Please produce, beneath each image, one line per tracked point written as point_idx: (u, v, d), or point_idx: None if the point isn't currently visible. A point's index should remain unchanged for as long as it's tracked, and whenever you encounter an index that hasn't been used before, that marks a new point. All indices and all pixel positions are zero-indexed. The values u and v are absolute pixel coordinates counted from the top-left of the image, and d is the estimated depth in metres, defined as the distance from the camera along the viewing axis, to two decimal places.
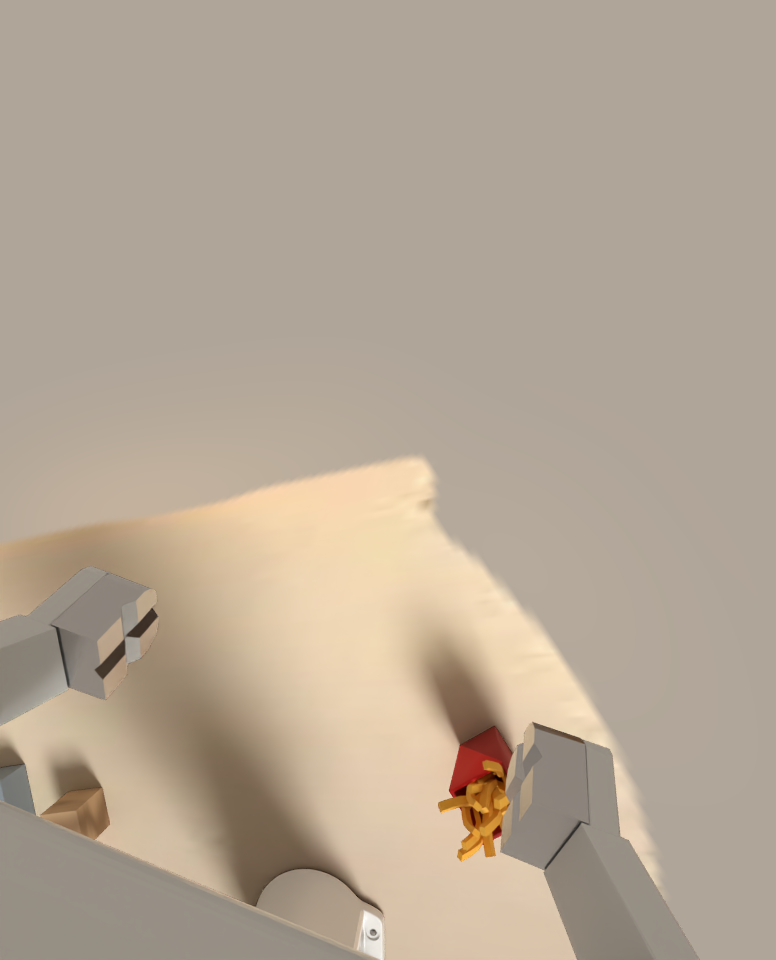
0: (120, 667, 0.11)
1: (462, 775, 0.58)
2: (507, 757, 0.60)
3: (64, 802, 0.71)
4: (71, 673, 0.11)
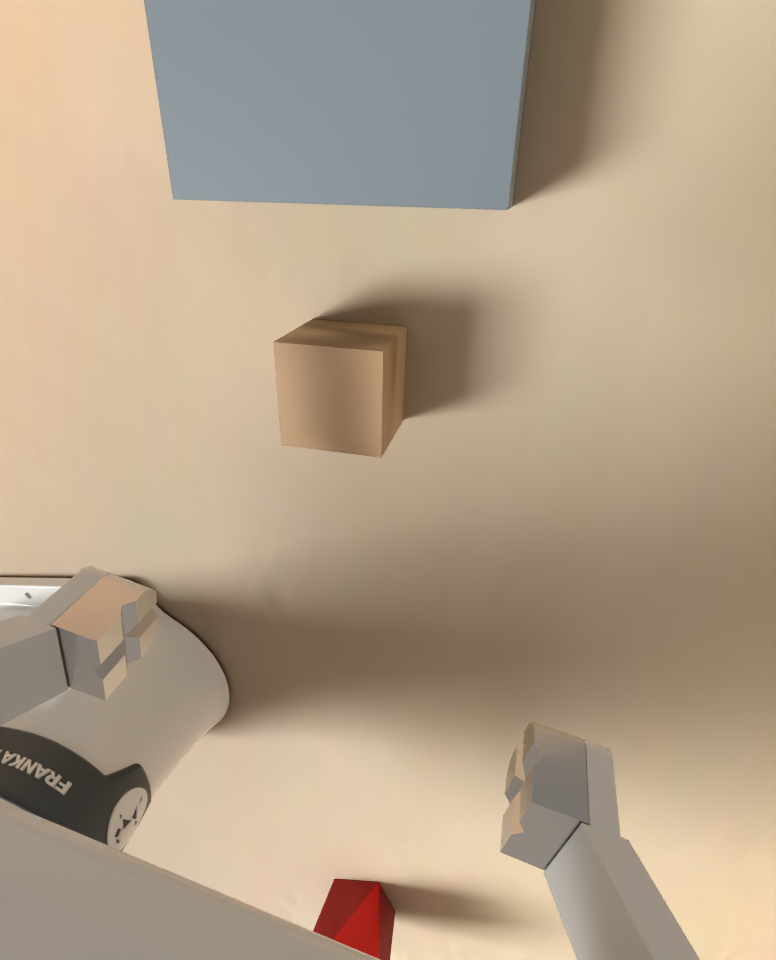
0: (120, 667, 0.11)
1: None
2: None
3: (394, 371, 0.26)
4: (71, 673, 0.11)
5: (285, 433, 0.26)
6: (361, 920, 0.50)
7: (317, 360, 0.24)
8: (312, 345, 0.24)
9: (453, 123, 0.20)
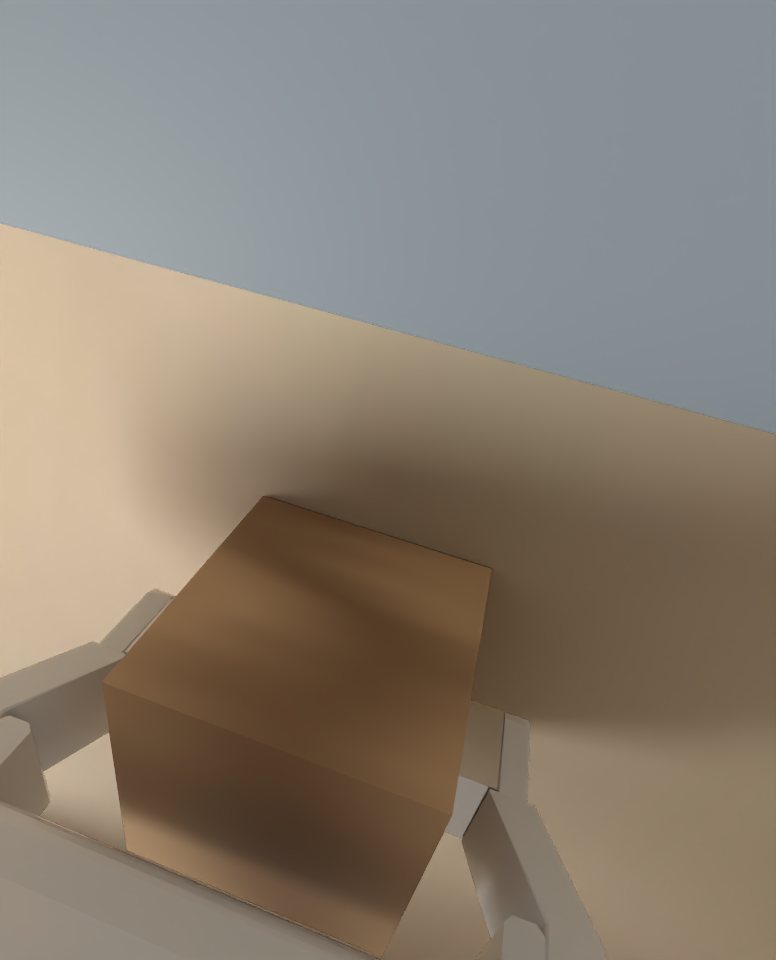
0: None
1: None
2: None
3: None
4: None
5: (137, 839, 0.10)
6: None
7: (234, 758, 0.08)
8: (223, 724, 0.07)
9: None
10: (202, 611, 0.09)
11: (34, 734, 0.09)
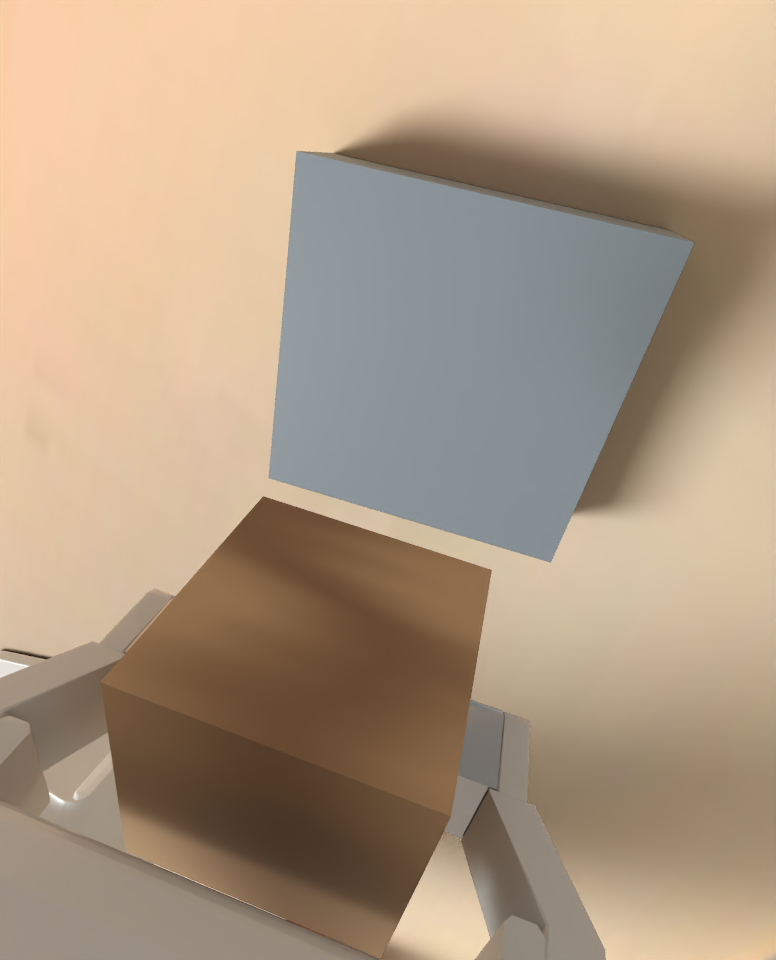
0: None
1: None
2: None
3: None
4: None
5: (135, 840, 0.10)
6: None
7: (233, 759, 0.08)
8: (222, 725, 0.07)
9: (521, 501, 0.24)
10: (201, 611, 0.09)
11: (34, 734, 0.09)
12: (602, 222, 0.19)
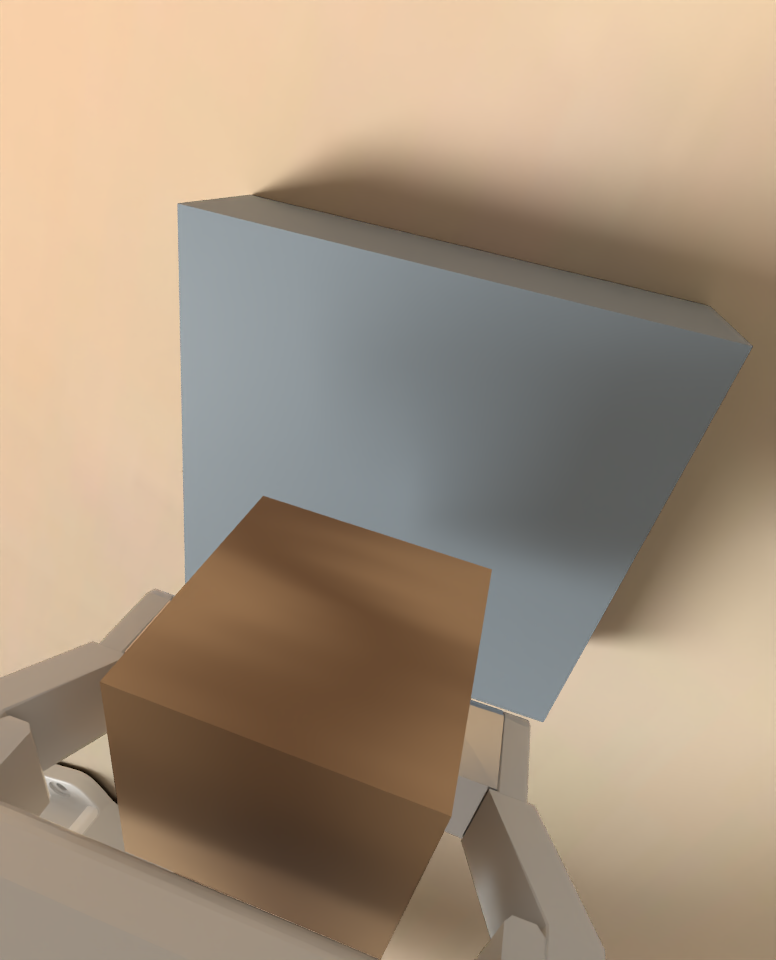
0: None
1: None
2: None
3: None
4: None
5: (135, 840, 0.10)
6: None
7: (233, 759, 0.08)
8: (222, 724, 0.07)
9: (504, 652, 0.18)
10: (201, 611, 0.09)
11: (34, 734, 0.09)
12: (614, 313, 0.13)
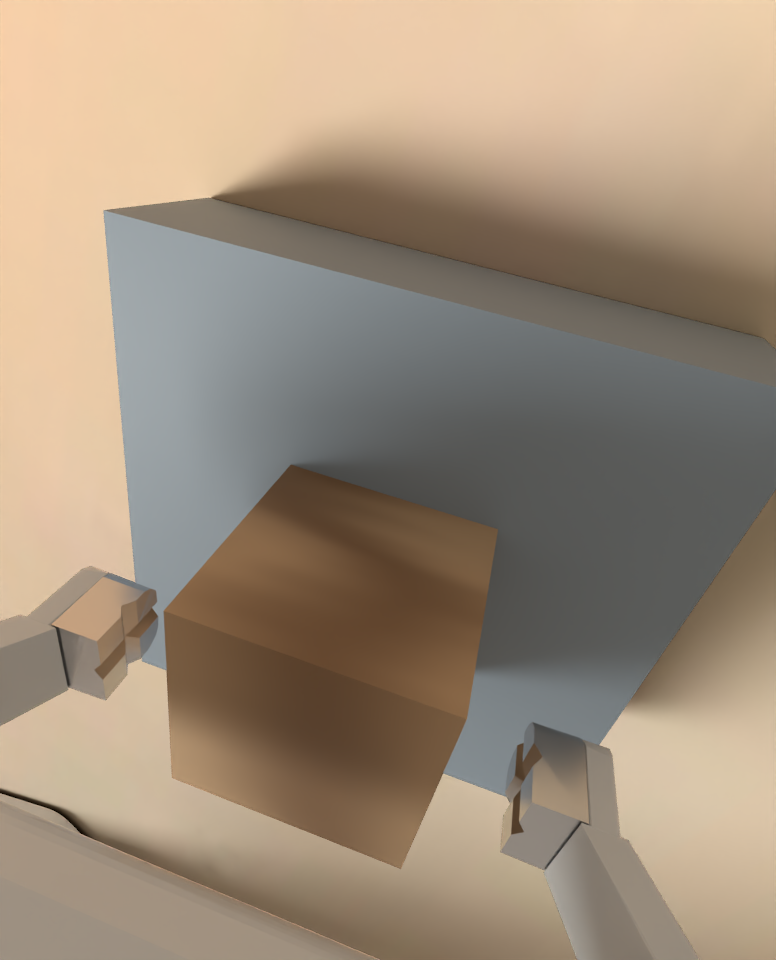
0: (119, 667, 0.11)
1: None
2: None
3: None
4: (71, 673, 0.11)
5: (182, 765, 0.11)
6: None
7: (277, 678, 0.09)
8: (269, 646, 0.09)
9: (506, 737, 0.16)
10: (244, 557, 0.10)
11: None
12: (654, 357, 0.10)
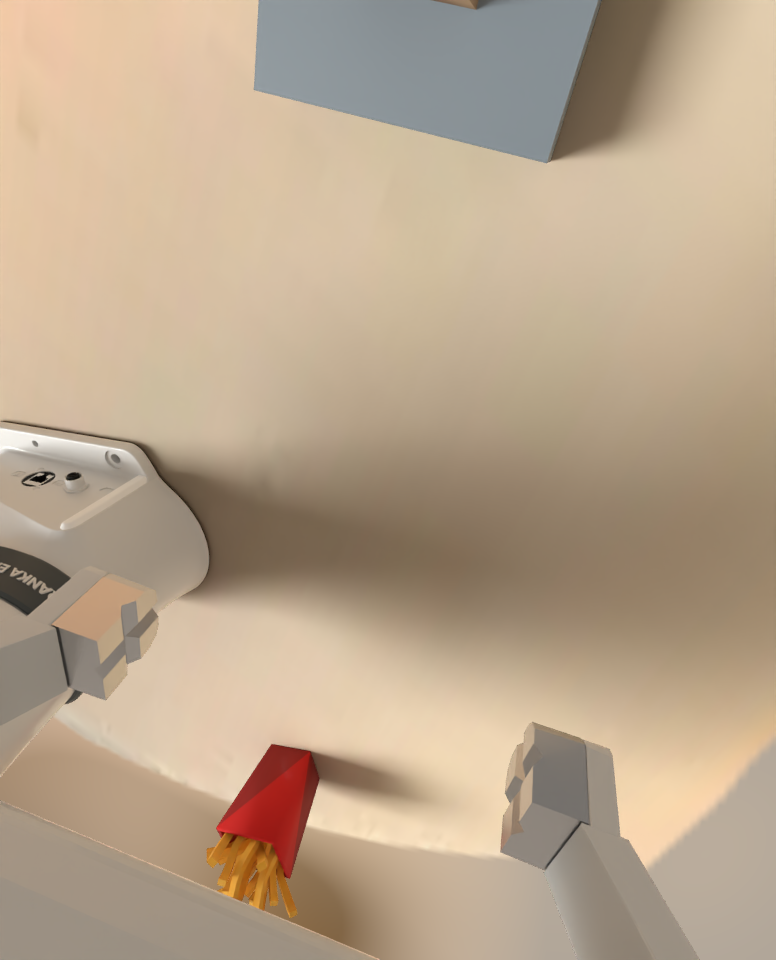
0: (120, 667, 0.11)
1: (284, 832, 0.54)
2: None
3: None
4: (71, 673, 0.11)
5: None
6: (290, 778, 0.57)
7: None
8: None
9: (517, 75, 0.23)
10: None
11: None
12: None
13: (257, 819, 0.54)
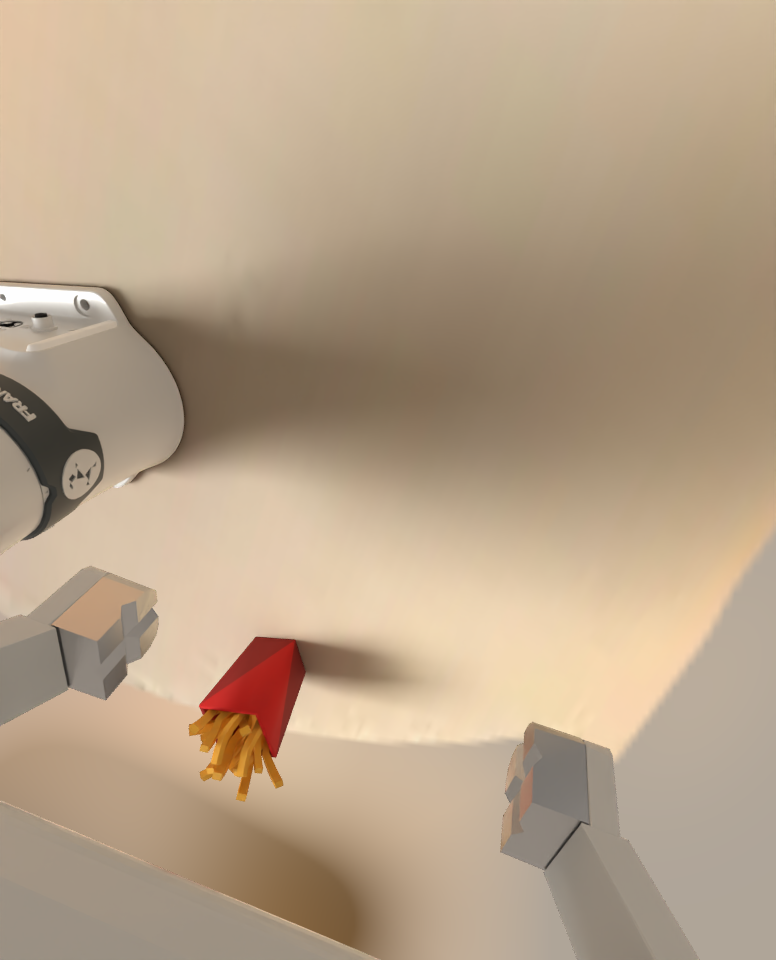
0: (119, 667, 0.11)
1: (269, 708, 0.52)
2: None
3: None
4: (71, 673, 0.11)
5: None
6: (275, 661, 0.56)
7: None
8: None
9: None
10: None
11: None
12: None
13: (241, 696, 0.53)
